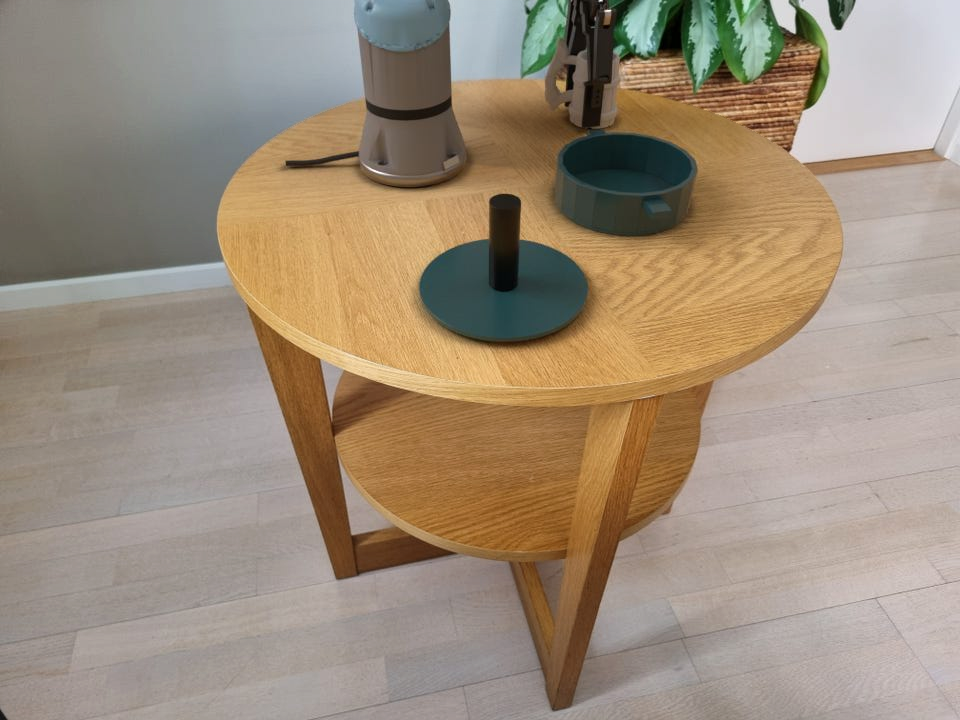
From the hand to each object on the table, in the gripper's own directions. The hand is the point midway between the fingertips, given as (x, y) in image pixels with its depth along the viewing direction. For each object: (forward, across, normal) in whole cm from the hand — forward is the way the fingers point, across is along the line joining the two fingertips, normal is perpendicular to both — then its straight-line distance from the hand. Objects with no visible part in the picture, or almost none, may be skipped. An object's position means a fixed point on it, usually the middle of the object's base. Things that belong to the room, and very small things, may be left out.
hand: (581, 115), depth 110 cm
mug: (+1, +1, 0) cm, 1 cm away
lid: (+1, -42, +23) cm, 47 cm away
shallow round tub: (+1, -25, +3) cm, 26 cm away
